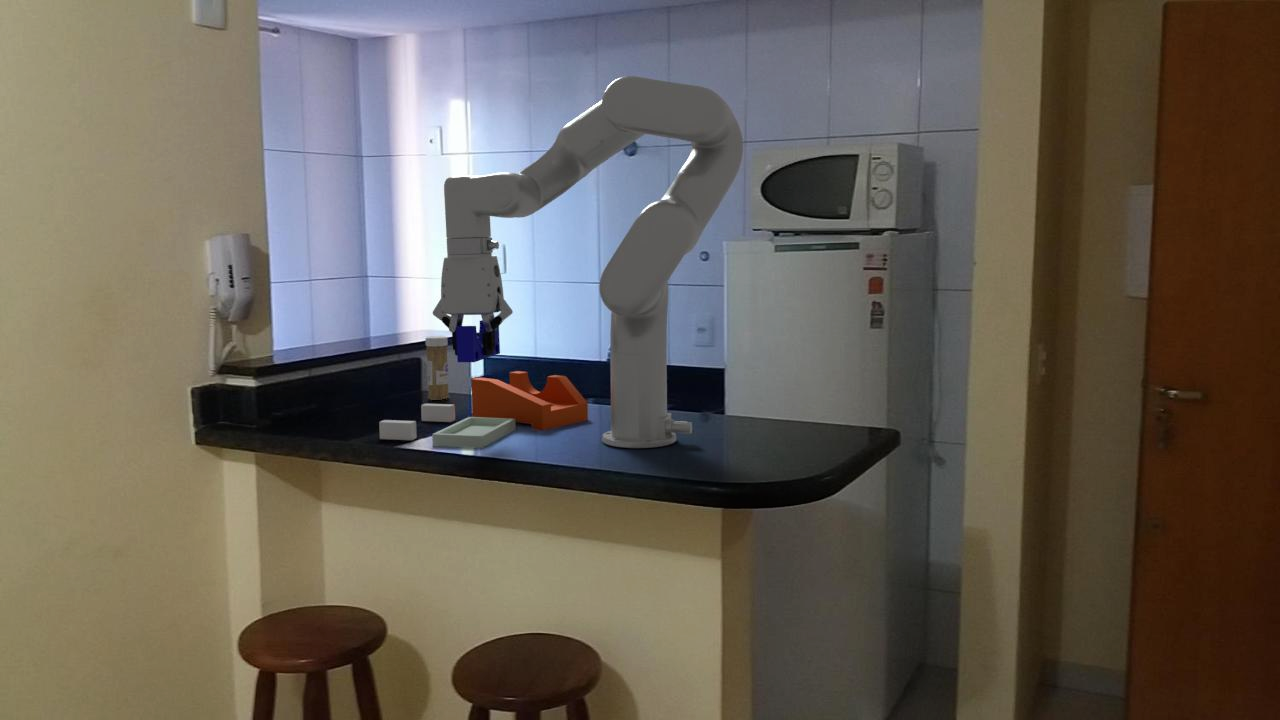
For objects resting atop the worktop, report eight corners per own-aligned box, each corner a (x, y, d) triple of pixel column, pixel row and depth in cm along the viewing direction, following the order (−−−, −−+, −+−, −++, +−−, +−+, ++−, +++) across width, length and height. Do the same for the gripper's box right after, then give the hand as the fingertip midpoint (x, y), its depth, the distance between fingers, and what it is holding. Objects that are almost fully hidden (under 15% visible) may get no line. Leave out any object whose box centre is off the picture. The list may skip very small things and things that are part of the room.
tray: (515, 429, 193) (515, 418, 193) (482, 447, 178) (482, 436, 177) (469, 427, 195) (468, 416, 195) (432, 445, 180) (432, 434, 179)
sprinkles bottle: (447, 400, 224) (445, 337, 222) (425, 401, 224) (423, 337, 222) (450, 397, 229) (448, 335, 227) (429, 397, 228) (427, 335, 227)
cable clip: (476, 353, 191) (475, 320, 190) (500, 353, 190) (498, 319, 189) (449, 362, 180) (447, 326, 179) (474, 362, 179) (472, 326, 178)
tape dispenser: (472, 422, 203) (471, 379, 201) (518, 412, 213) (517, 371, 211) (542, 432, 192) (541, 387, 191) (587, 421, 202) (587, 378, 201)
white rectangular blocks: (455, 420, 203) (454, 404, 202) (411, 440, 184) (410, 423, 184) (426, 418, 204) (425, 403, 204) (379, 438, 186) (379, 422, 185)
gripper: (523, 247, 184) (527, 351, 186) (432, 249, 188) (438, 351, 190) (508, 248, 176) (512, 357, 179) (414, 250, 180) (420, 357, 183)
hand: (474, 353), depth 184 cm, fingers closed on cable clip, 4 cm apart
